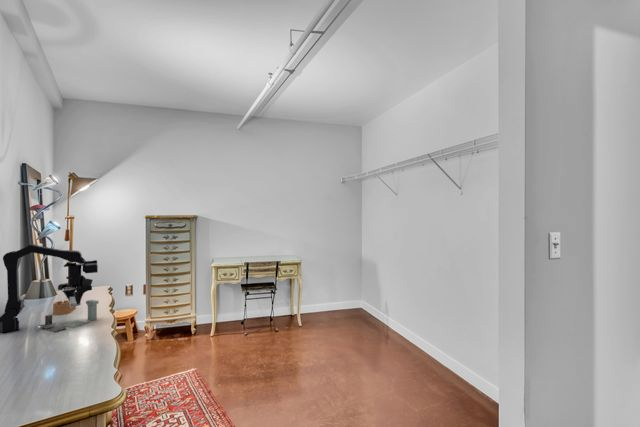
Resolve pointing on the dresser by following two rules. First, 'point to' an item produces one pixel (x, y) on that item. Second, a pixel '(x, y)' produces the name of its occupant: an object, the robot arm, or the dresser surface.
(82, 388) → the dresser surface
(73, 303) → the silver bell
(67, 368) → the dresser surface
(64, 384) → the dresser surface
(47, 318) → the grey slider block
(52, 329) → the rail
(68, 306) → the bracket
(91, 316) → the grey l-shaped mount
